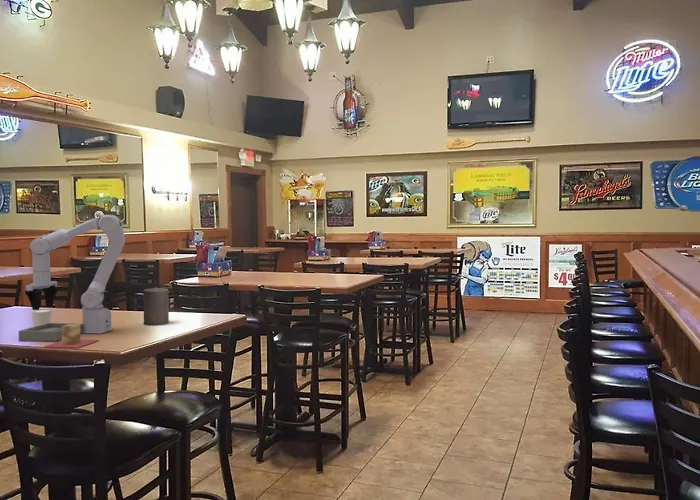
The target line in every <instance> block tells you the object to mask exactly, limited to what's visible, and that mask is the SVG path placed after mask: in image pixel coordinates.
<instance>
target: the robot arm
mask: <svg viewBox="0 0 700 500" xmlns="http://www.w3.org/2000/svg"><path fill="white" fill-rule="evenodd" d="M93 230H94V231H95V230H97V231H99V230H101V231H102V232H103V233H104V234H105V235H106V237H107V239H108V241H109V244H108V246H107V248H106V250H105V252H104V255H103V257H102V259H101V262H100V264H99V267H98V269H97V271H96V272H95V275H94V278H93V280H92V281H91V283H90V284H89V286H88V288H87V290H86V291H85V292H84V293H82V295H81V297H80V304H81V305H82V307H81V308H82V309H81V312H82V313H81V314H82V319H81V320H82V324H84V332H82V333H83V334H104V333H106V332H110V331H112V330H113V328H112V312H111V310H110V309H109V308H107V307H106V308H105V307H104V305H103V301H104V298H105V295H104V293H105V291H106V285H107V284H108V281H109V279H110V276H111V275H112V272H113V270H114V268H115V266H116V263H117V261H118V259H119V257H120V254H121V253H122V250H123V248H124V246H125V245H126V237H125V232H124V225H123V223H122V221H121V219H120V218H119V217H118V216H116V215H114V214H105V215H102V216H98V217H94V218H91V219H89V220H86V221H84V222H82V223H80V224H78V225H75V226H74V227H71V228H69V229H65V228H56V229H54V231H53V232H51V233H50V232H49V233H48V234H42V235H41V237H36V238H35V239H32V241H31V242H30V245H29V249H30V251H31V252H32V253H31V254H32V261H31V263H32V282H31V283H30V284H27V285H25V289H26V290H24V293H25V295H26V297H27V298H28V300H29V302H30V306H31V309H32V310H33V311H37V310H40V306H41V305H40V304H41V297H42V294H43V295H44V298H45V299H44V301H45V306H46V307H47V308H53V307H54V303H55V302H54V301H55V298H56V295H57V294H58V292H59V289H60V288H59V286H58V281H55V280H52V279H51V277H52V275H51V257H50V255H51V254H50V252H51V250H53V251H54V250H55V249H58V248H60V247H63V246H65V245H67V244H69V243H70V242H71V240H72V239H73V238H75V237H77V236H80V235H82V234H85V233H88V232H89V231H93ZM51 280H52V281H51Z"/></svg>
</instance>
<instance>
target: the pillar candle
mask: <svg viewBox="0 0 700 500" xmlns="http://www.w3.org/2000/svg"><path fill="white" fill-rule="evenodd" d="M142 296H143V297H142V298H143V325H145V326H163V325H167V323H168V324H169V321H170V317H169V316H170V315H169V306H170V305H169V289H168V288H163V287H162V288H161V287H160V288H159V287H157V286H155V287H151V288H145V289H143V295H142Z"/></svg>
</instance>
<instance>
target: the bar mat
mask: <svg viewBox="0 0 700 500" xmlns="http://www.w3.org/2000/svg"><path fill="white" fill-rule="evenodd" d="M97 342H100V340H99V339H81V342H79V343H76V344H62V340H61V341H58V342H52V343H50V344H47V345H44V347H43V348H45V349H49V348H50V349H81V348H83V347H84V348H85V347H87V346H90V345H91V344H95V343H97Z"/></svg>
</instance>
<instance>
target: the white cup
mask: <svg viewBox="0 0 700 500" xmlns="http://www.w3.org/2000/svg"><path fill="white" fill-rule="evenodd" d="M52 311H53V310H51V309H39V310H33V311H31V315H32V322H33V323H32V324H33V327H35V326H39V325H43V324H47V323H52Z"/></svg>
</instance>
